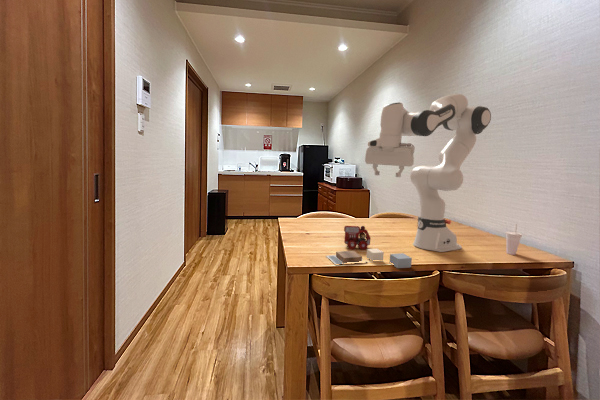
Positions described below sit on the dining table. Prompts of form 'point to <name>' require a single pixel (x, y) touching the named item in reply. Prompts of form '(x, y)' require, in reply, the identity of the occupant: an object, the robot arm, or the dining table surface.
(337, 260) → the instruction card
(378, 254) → the cream brick
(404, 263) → the slate brick
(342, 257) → the plinth
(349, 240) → the toy fire truck
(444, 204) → the robot arm
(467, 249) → the dining table surface
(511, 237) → the smoothie
